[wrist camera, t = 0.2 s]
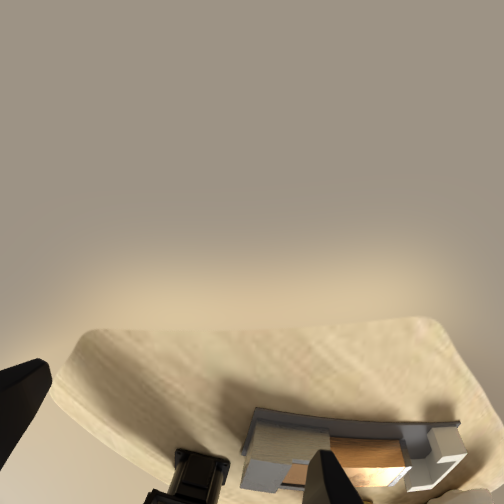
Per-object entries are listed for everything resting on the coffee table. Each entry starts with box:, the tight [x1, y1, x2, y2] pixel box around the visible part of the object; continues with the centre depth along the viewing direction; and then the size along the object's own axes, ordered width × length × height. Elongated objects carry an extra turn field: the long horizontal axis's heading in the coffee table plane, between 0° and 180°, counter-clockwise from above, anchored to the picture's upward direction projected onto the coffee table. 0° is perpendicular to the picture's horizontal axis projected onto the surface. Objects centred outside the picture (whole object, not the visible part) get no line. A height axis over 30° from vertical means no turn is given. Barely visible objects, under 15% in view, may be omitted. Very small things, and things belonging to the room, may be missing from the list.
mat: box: [241, 407, 461, 459], centre depth 26 cm, size 8×24×1 cm, turn 80°
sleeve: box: [240, 418, 330, 493], centre depth 24 cm, size 6×7×5 cm
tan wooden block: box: [282, 437, 412, 487], centre depth 24 cm, size 4×15×4 cm, turn 80°
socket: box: [404, 427, 468, 492], centre depth 24 cm, size 7×4×4 cm, turn 170°
